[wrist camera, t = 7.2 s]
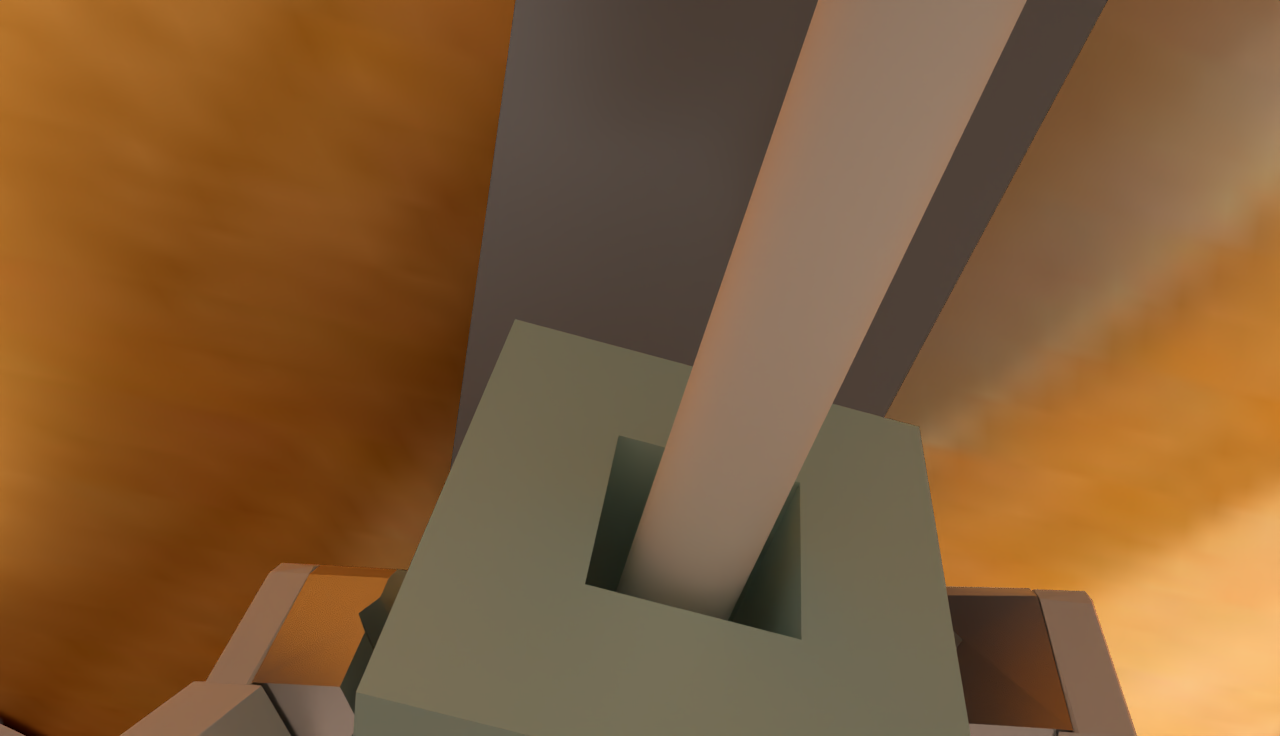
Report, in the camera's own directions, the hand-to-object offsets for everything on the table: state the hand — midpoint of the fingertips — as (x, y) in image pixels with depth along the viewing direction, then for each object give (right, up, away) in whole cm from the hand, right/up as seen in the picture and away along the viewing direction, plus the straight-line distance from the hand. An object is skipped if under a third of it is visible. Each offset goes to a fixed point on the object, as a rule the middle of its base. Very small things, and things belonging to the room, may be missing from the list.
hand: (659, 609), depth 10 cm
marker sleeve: (0, +1, +2) cm, 2 cm away
